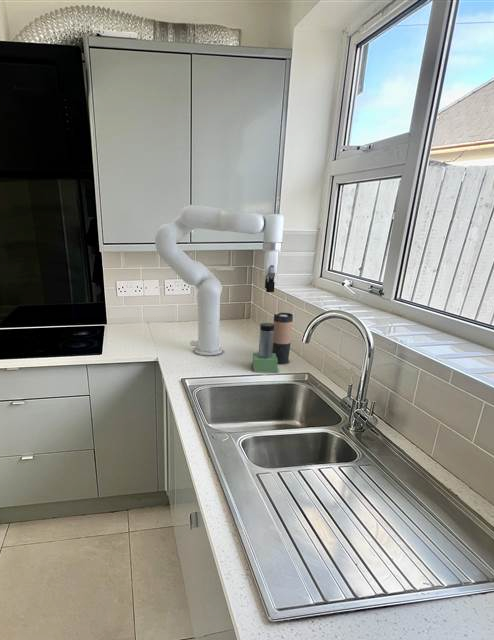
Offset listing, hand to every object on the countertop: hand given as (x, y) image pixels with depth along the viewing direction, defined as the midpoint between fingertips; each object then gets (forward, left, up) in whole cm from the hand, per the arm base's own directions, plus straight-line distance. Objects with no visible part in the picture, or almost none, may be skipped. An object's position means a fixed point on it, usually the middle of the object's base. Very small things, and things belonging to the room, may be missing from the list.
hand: (269, 290), depth 170 cm
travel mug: (+8, -7, -28) cm, 30 cm away
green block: (+5, -18, -28) cm, 34 cm away
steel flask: (+5, -18, -23) cm, 30 cm away
